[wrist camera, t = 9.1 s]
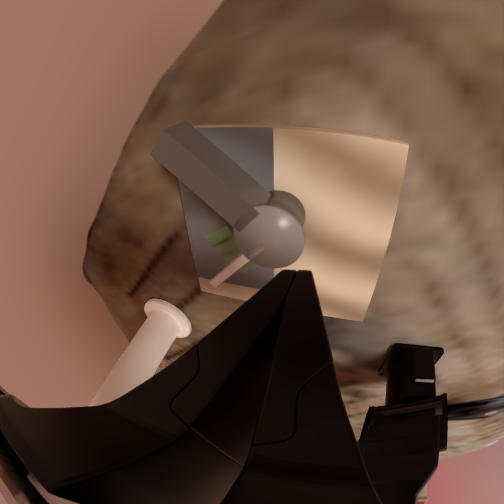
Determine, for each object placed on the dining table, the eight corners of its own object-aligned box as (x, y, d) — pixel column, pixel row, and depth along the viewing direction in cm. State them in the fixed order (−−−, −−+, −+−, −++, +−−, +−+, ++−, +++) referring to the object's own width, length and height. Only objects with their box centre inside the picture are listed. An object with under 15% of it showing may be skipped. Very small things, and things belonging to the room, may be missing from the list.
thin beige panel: (362, 313, 24) (362, 322, 23) (205, 284, 28) (200, 291, 27) (405, 141, 14) (409, 145, 13) (178, 126, 19) (170, 130, 18)
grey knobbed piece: (324, 217, 18) (319, 245, 16) (247, 275, 24) (233, 302, 21) (200, 105, 16) (172, 114, 13) (148, 189, 21) (123, 208, 19)
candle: (196, 339, 36) (112, 494, 17) (155, 325, 38) (70, 462, 19) (185, 305, 32) (78, 486, 13) (140, 292, 34) (34, 445, 15)
